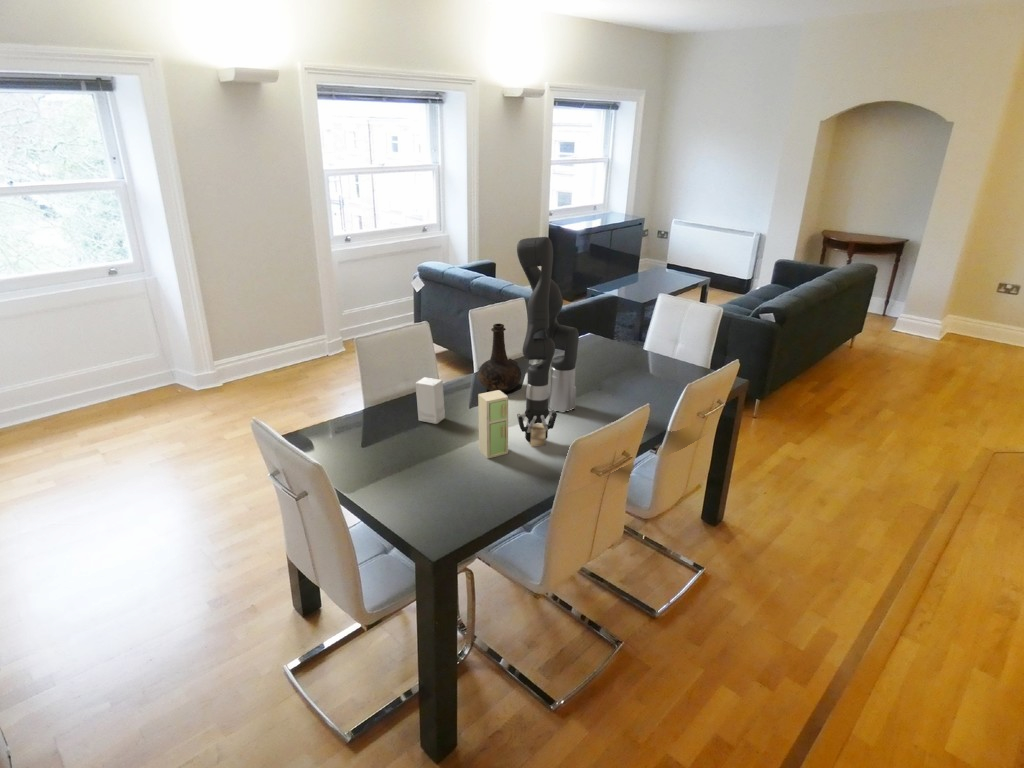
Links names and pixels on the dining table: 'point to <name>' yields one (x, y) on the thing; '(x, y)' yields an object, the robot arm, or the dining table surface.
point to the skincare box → (430, 400)
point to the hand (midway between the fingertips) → (536, 440)
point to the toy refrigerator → (493, 423)
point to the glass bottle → (499, 366)
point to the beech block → (537, 435)
